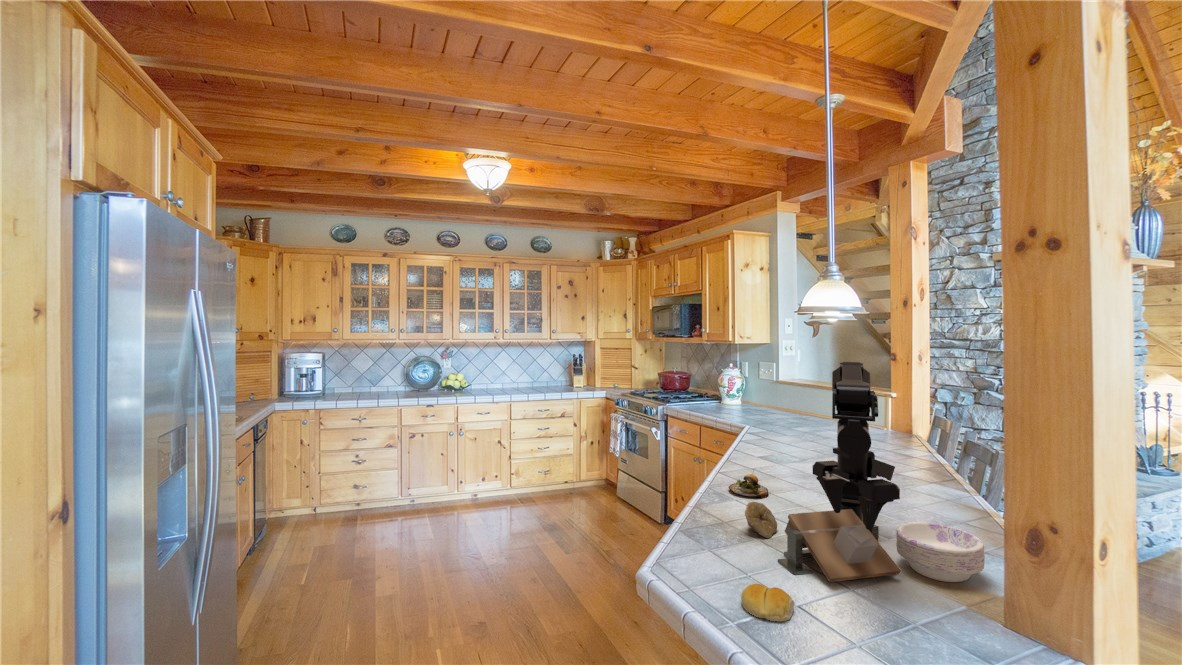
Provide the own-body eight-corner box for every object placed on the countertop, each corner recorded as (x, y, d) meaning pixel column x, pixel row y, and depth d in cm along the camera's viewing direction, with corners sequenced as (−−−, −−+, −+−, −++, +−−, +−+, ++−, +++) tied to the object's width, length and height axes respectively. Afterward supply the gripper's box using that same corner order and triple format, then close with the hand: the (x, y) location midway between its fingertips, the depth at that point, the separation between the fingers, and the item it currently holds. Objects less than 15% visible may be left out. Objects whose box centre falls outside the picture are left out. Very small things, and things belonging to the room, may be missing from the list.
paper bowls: (883, 568, 107) (883, 531, 107) (913, 550, 116) (913, 515, 116) (968, 599, 95) (969, 557, 95) (995, 575, 104) (995, 537, 104)
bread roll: (747, 593, 98) (747, 572, 98) (796, 606, 93) (796, 585, 93) (735, 613, 91) (734, 591, 91) (787, 629, 86) (787, 605, 86)
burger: (721, 489, 161) (721, 466, 161) (753, 486, 164) (753, 463, 164) (743, 502, 149) (743, 477, 149) (777, 498, 153) (777, 473, 153)
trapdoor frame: (861, 548, 117) (861, 514, 117) (889, 564, 109) (889, 528, 109) (771, 557, 113) (771, 522, 112) (793, 575, 104) (794, 537, 104)
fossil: (742, 513, 124) (754, 493, 132) (731, 522, 126) (744, 503, 134) (771, 542, 121) (782, 520, 129) (760, 551, 123) (771, 529, 131)
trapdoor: (843, 525, 118) (851, 508, 115) (891, 587, 104) (901, 570, 101) (782, 531, 115) (789, 513, 112) (822, 596, 101) (831, 578, 98)
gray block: (833, 543, 106) (841, 524, 103) (853, 541, 107) (863, 522, 104) (847, 564, 102) (857, 544, 99) (869, 561, 103) (879, 542, 100)
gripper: (924, 454, 96) (924, 535, 96) (854, 434, 114) (854, 502, 115) (873, 457, 94) (873, 540, 94) (811, 436, 112) (810, 506, 112)
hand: (852, 520), depth 104 cm, fingers open, 9 cm apart
